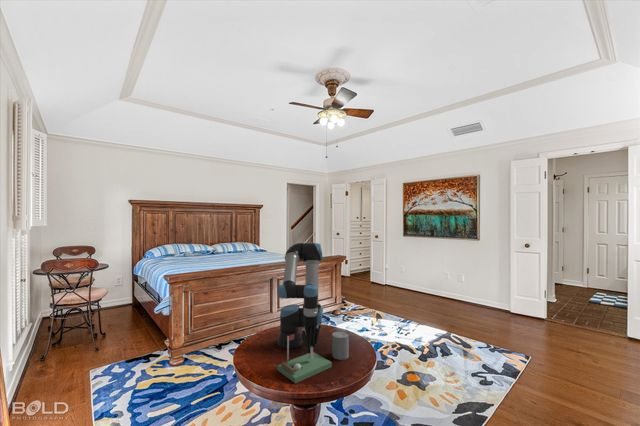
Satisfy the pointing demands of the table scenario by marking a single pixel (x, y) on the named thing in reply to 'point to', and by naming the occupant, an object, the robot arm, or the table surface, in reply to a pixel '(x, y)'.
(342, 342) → the grey can
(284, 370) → the green
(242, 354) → the table surface
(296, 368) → the ball
